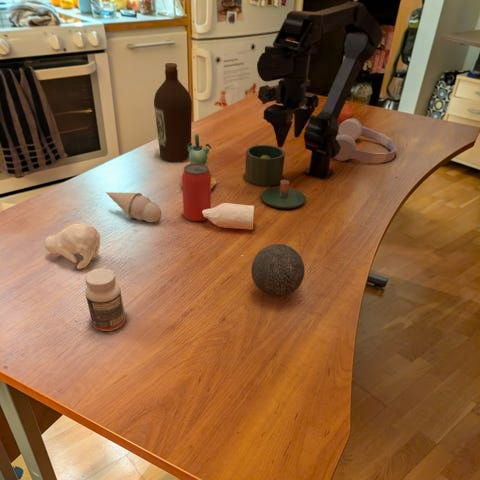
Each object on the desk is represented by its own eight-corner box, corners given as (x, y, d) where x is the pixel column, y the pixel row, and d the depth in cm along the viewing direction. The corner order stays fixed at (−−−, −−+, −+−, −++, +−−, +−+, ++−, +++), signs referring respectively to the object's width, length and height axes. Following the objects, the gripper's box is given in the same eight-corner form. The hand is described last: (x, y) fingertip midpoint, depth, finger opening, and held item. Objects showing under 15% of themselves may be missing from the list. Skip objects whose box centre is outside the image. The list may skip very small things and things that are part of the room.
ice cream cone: (106, 207, 113) (159, 230, 110) (94, 201, 107) (149, 225, 104) (116, 184, 113) (169, 206, 110) (104, 176, 107) (159, 200, 104)
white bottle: (204, 218, 111) (203, 196, 108) (253, 221, 111) (255, 200, 107) (200, 230, 107) (200, 208, 103) (252, 234, 106) (253, 212, 103)
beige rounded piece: (81, 234, 87) (28, 228, 90) (92, 272, 92) (42, 265, 95) (99, 219, 91) (48, 213, 94) (108, 256, 97) (60, 249, 100)
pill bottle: (95, 311, 83) (85, 266, 77) (127, 310, 84) (119, 265, 77) (90, 332, 79) (79, 286, 73) (123, 332, 80) (115, 285, 73)
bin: (257, 167, 136) (258, 142, 131) (288, 176, 132) (291, 150, 127) (238, 179, 129) (239, 153, 124) (270, 189, 125) (273, 162, 120)
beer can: (206, 224, 109) (206, 175, 101) (180, 220, 110) (177, 172, 102) (213, 211, 114) (213, 164, 106) (188, 208, 115) (186, 160, 107)
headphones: (325, 158, 143) (390, 173, 139) (331, 135, 138) (398, 150, 134) (337, 135, 159) (395, 148, 155) (342, 114, 154) (402, 126, 151)
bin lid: (274, 187, 126) (276, 168, 123) (312, 198, 122) (314, 179, 118) (253, 202, 119) (254, 183, 115) (292, 215, 114) (294, 195, 111)
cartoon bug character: (171, 200, 118) (168, 139, 109) (188, 178, 133) (187, 124, 124) (207, 203, 117) (208, 143, 108) (221, 182, 132) (222, 127, 123)
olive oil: (187, 148, 145) (183, 58, 129) (198, 160, 138) (196, 67, 122) (154, 151, 142) (146, 60, 125) (163, 164, 134) (156, 69, 118)
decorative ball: (263, 313, 85) (267, 268, 78) (241, 282, 92) (244, 239, 85) (310, 301, 88) (318, 257, 82) (286, 272, 95) (291, 230, 88)
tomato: (353, 130, 164) (357, 107, 158) (327, 129, 164) (331, 105, 158) (348, 122, 171) (353, 99, 166) (324, 121, 171) (327, 98, 165)
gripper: (284, 63, 118) (278, 126, 128) (246, 77, 106) (243, 145, 116) (323, 70, 114) (314, 134, 124) (288, 85, 102) (281, 155, 112)
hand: (288, 142), depth 119 cm, fingers open, 9 cm apart
